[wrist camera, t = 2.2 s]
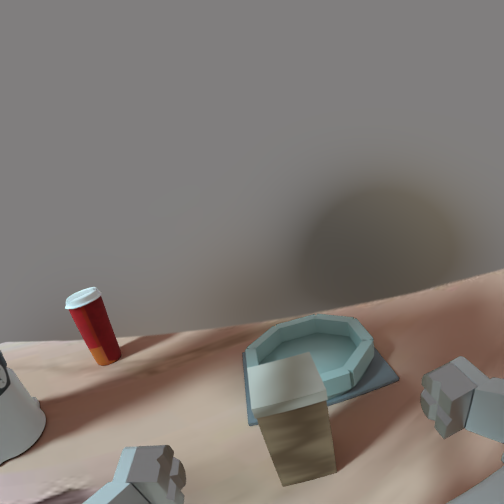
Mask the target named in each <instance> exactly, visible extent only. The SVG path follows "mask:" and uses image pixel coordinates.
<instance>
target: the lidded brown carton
mask: <svg viewBox="0 0 504 504" xmlns="http://www.w3.org/2000/svg"><path fill="white" fill-rule="evenodd" d="M247 372H248V382H249V392H250V401H251V410H252V412H253V415H254V418H255V419H256V418H257V421H258V424H259V427H260V429H261V432H262V435H263V437H264V440H265V443H266V445H267V448H268V450H269V453H270V456H271V458H272V461H273V463H274V466H275V468H276V471H277V473H278V476H279V478H280V481H281V483H282V486H283V487H284V486H288V485H293V484H297V483H301V482H305V481H309V480H313V479H316V478H320V477H324V476H327V475H330V474H334V473H337V470H336V462H335V455H334V448H333V441H332V434H331V427H330V421H329V414H328V408H327V402H326V400H328V397H327V391H326V388H325V386H324V383H323V381H322V379H321V377H320V374H319V372H318V370H317V368H316V365H315V363H314V361H313V359H312V357H311V354H310V352H306V353H303V354H299V355H295V356H292V357H288V358H284V359H281V360H277V361H273V362H269V363H265V364H261V365H257V366H253V367H249V368H247Z"/></svg>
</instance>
